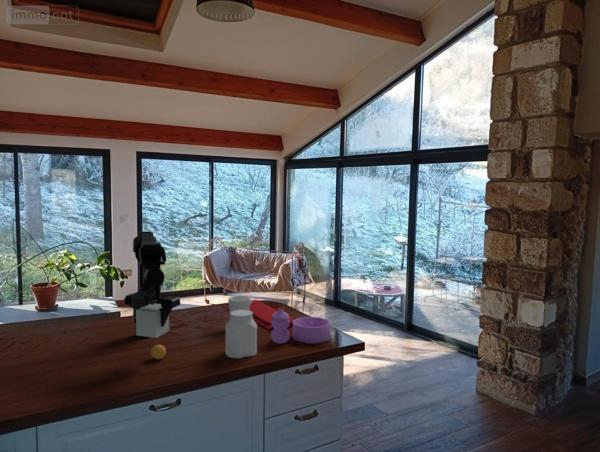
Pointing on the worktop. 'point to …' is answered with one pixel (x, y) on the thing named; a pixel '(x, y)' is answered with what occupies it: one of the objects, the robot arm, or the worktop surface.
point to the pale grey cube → (150, 321)
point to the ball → (158, 351)
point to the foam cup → (239, 303)
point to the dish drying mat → (264, 314)
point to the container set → (299, 328)
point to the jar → (241, 334)
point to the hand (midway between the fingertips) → (152, 325)
